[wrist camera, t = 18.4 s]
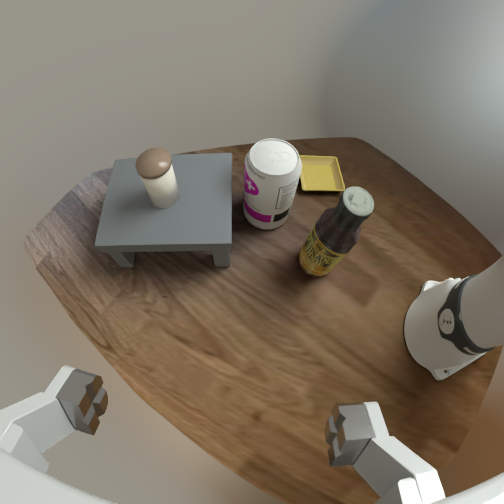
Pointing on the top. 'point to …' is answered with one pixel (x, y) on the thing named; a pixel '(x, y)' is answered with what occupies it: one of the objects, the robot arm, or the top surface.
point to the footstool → (169, 211)
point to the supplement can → (270, 182)
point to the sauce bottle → (335, 232)
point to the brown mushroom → (158, 177)
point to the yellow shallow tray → (321, 174)
